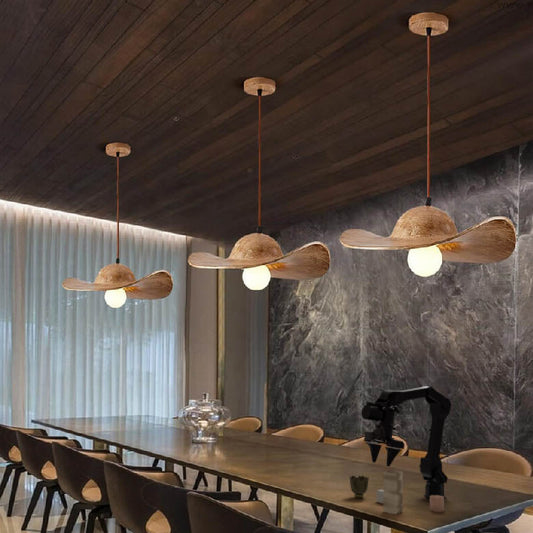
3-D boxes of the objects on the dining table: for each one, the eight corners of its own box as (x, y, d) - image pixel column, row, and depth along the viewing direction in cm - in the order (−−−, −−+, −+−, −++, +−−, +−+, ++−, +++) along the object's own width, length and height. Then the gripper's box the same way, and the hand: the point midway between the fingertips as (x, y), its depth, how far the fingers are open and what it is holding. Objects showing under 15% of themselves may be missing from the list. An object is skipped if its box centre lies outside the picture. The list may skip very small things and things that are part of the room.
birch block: (390, 509, 259) (390, 470, 261) (402, 511, 256) (402, 472, 258) (383, 512, 255) (383, 472, 257) (395, 514, 252) (395, 473, 254)
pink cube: (439, 508, 263) (438, 494, 263) (446, 511, 258) (446, 497, 259) (427, 509, 261) (427, 495, 262) (434, 512, 256) (434, 498, 257)
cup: (366, 495, 283) (366, 475, 284) (370, 499, 275) (370, 478, 276) (348, 495, 283) (348, 475, 283) (351, 499, 275) (351, 478, 276)
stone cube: (386, 500, 275) (386, 488, 275) (393, 503, 271) (393, 491, 271) (376, 502, 272) (376, 489, 273) (384, 504, 269) (384, 492, 269)
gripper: (355, 417, 280) (349, 458, 277) (383, 422, 263) (378, 465, 261) (378, 421, 285) (373, 461, 282) (407, 426, 268) (402, 469, 265)
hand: (380, 464), depth 272 cm, fingers open, 9 cm apart
